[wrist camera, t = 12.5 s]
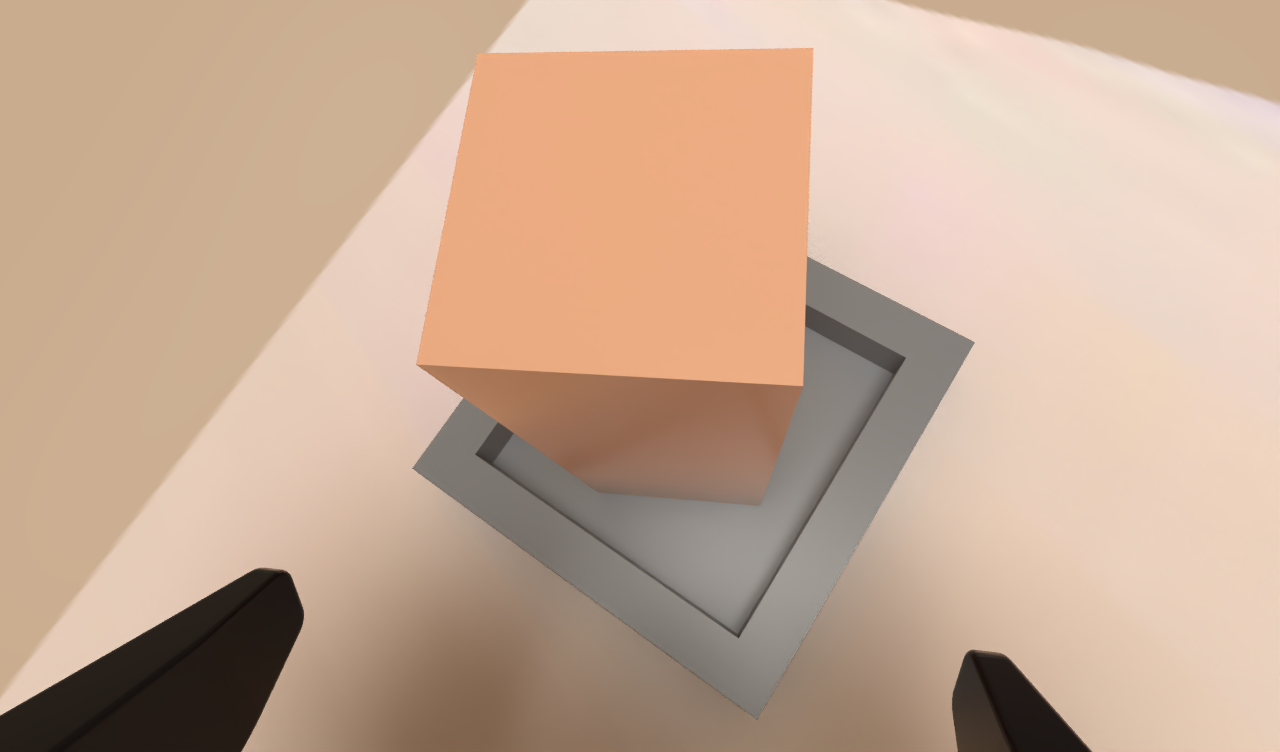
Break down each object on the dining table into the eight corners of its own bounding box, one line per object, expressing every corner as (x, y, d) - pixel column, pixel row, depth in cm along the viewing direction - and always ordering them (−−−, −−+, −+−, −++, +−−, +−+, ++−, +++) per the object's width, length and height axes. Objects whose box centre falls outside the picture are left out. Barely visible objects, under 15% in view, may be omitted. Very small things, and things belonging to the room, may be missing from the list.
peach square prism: (759, 505, 21) (803, 385, 8) (598, 492, 21) (416, 364, 9) (767, 349, 22) (813, 47, 10) (615, 342, 23) (477, 53, 10)
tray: (754, 705, 20) (757, 719, 17) (441, 479, 23) (412, 468, 21) (951, 365, 22) (974, 342, 20) (640, 202, 25) (631, 167, 23)
